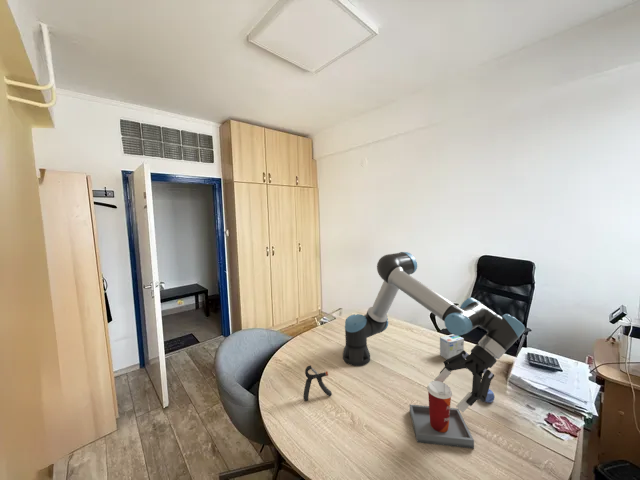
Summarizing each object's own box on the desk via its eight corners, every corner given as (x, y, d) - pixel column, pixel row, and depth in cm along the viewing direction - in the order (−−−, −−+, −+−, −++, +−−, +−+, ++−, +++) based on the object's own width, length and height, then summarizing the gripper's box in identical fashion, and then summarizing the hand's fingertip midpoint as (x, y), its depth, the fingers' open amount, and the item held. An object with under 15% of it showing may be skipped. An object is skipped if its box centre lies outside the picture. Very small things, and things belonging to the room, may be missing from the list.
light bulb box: (454, 351, 143) (454, 333, 142) (464, 357, 137) (464, 338, 136) (439, 355, 140) (439, 336, 139) (448, 361, 133) (449, 342, 132)
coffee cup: (455, 437, 87) (455, 396, 85) (429, 433, 88) (429, 393, 87) (447, 418, 95) (448, 380, 94) (424, 415, 97) (424, 378, 95)
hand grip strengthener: (332, 397, 109) (331, 365, 108) (303, 402, 107) (302, 368, 106) (331, 394, 112) (330, 362, 110) (303, 398, 110) (301, 365, 108)
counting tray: (417, 442, 86) (417, 434, 86) (409, 411, 100) (409, 404, 100) (473, 448, 83) (474, 440, 83) (458, 415, 97) (458, 408, 97)
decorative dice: (494, 401, 104) (494, 392, 104) (487, 403, 103) (487, 394, 102) (485, 395, 108) (485, 386, 107) (478, 397, 106) (478, 388, 106)
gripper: (524, 380, 78) (478, 430, 78) (470, 341, 103) (435, 379, 103) (509, 365, 77) (463, 416, 77) (458, 330, 102) (423, 368, 102)
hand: (447, 395), depth 90 cm, fingers open, 13 cm apart
